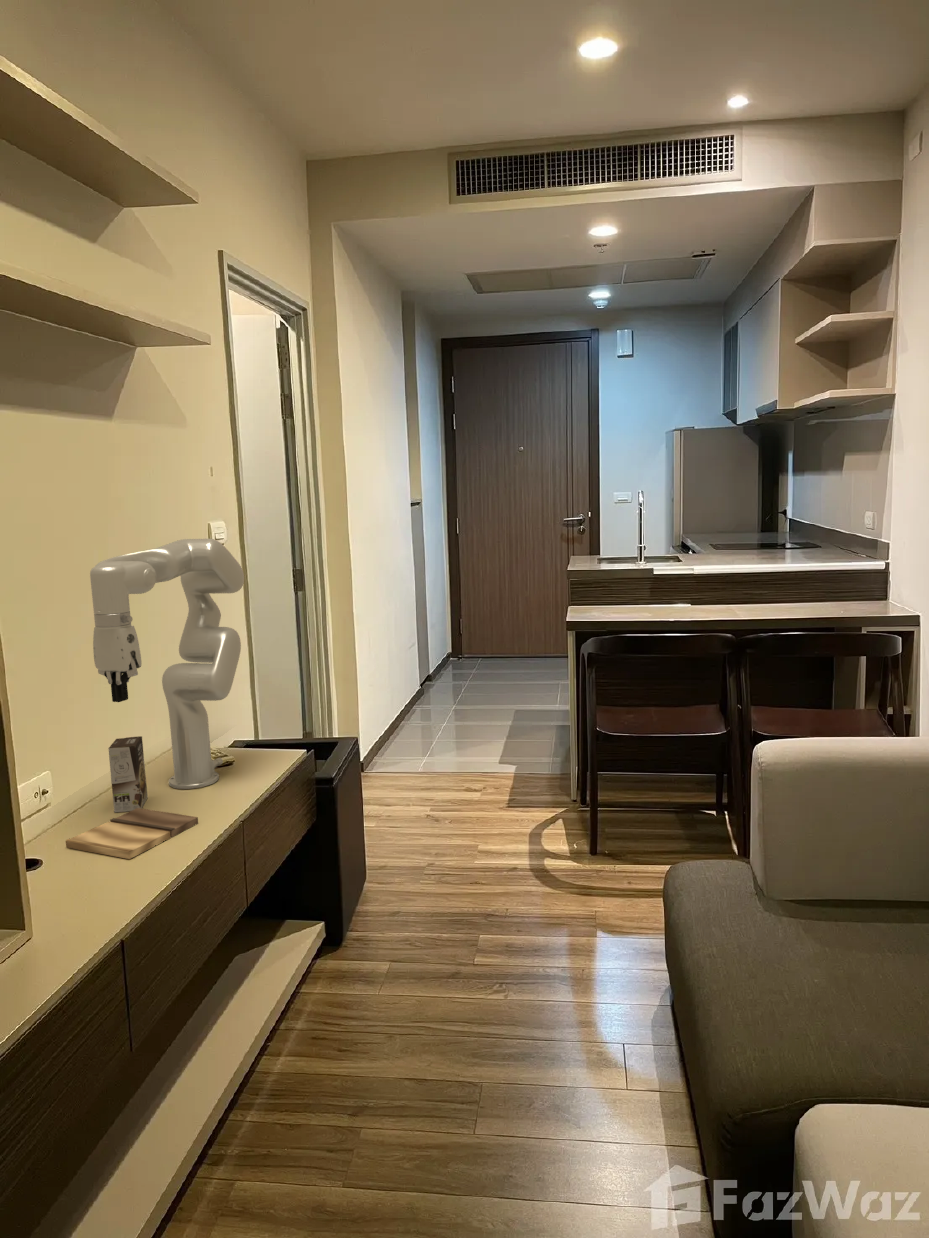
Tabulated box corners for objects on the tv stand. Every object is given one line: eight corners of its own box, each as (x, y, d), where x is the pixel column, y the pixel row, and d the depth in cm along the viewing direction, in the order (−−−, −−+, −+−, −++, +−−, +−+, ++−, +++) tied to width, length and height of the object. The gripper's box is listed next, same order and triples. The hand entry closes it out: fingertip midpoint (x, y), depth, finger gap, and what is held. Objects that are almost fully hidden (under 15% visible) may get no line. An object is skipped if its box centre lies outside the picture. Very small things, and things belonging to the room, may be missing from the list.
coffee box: (141, 810, 210) (135, 745, 207) (113, 813, 209) (107, 748, 206) (148, 797, 219) (143, 735, 216) (121, 800, 218) (115, 737, 215)
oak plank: (109, 827, 200) (108, 820, 199) (170, 838, 192) (169, 830, 192) (66, 847, 189) (65, 839, 188) (129, 859, 181) (128, 851, 181)
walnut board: (138, 813, 208) (137, 806, 207) (198, 823, 200) (197, 816, 200) (110, 826, 200) (110, 819, 200) (172, 837, 193) (171, 829, 192)
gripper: (150, 619, 195) (158, 699, 198) (100, 617, 201) (108, 694, 204) (125, 624, 188) (133, 707, 191) (74, 622, 194) (82, 702, 197)
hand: (120, 700), depth 198 cm, fingers closed
